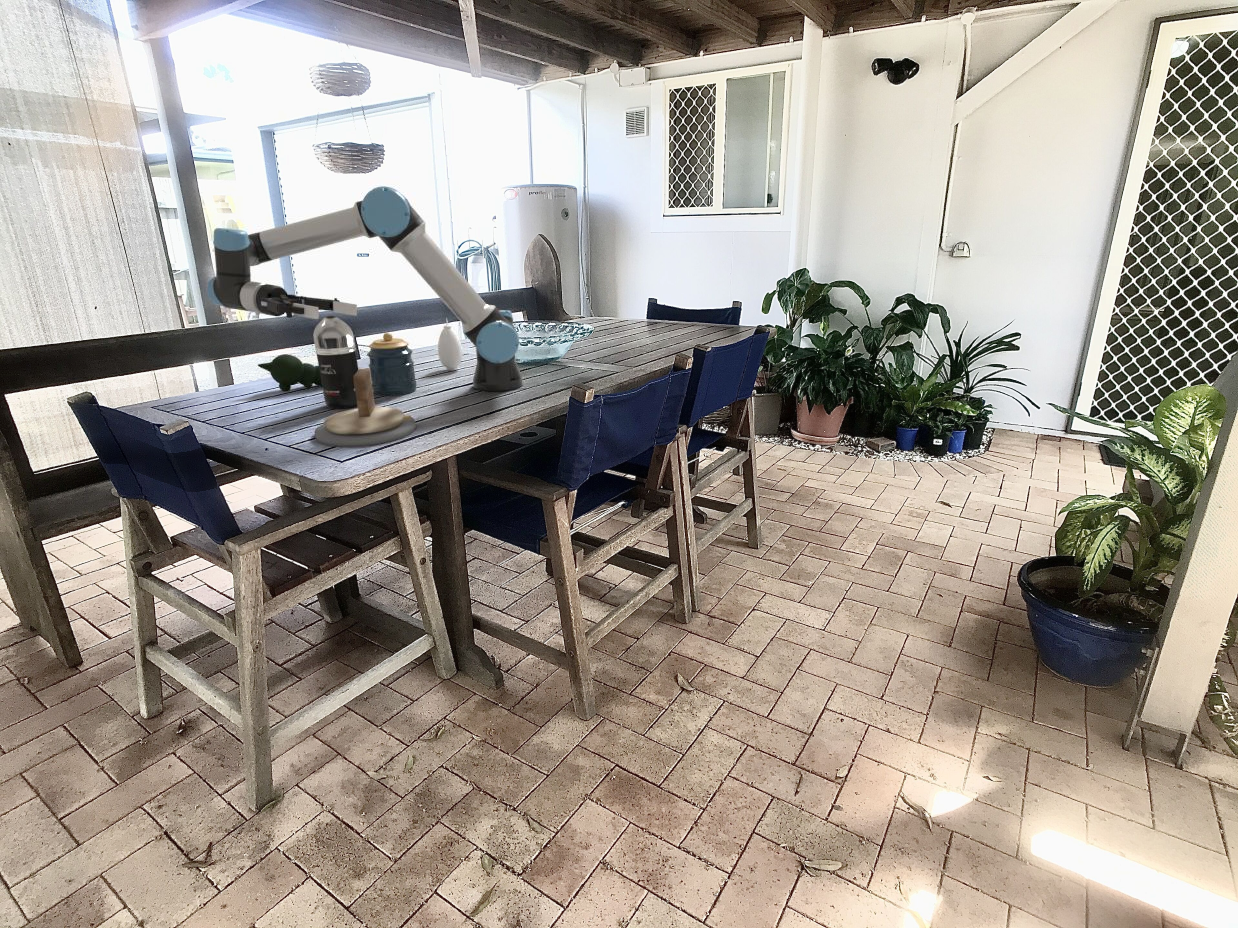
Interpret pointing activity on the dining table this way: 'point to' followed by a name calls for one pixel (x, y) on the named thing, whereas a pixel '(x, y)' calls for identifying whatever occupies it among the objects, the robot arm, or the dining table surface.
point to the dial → (364, 411)
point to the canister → (391, 366)
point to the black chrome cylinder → (336, 362)
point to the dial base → (365, 435)
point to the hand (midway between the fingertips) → (337, 311)
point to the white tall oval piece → (449, 348)
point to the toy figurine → (292, 372)
